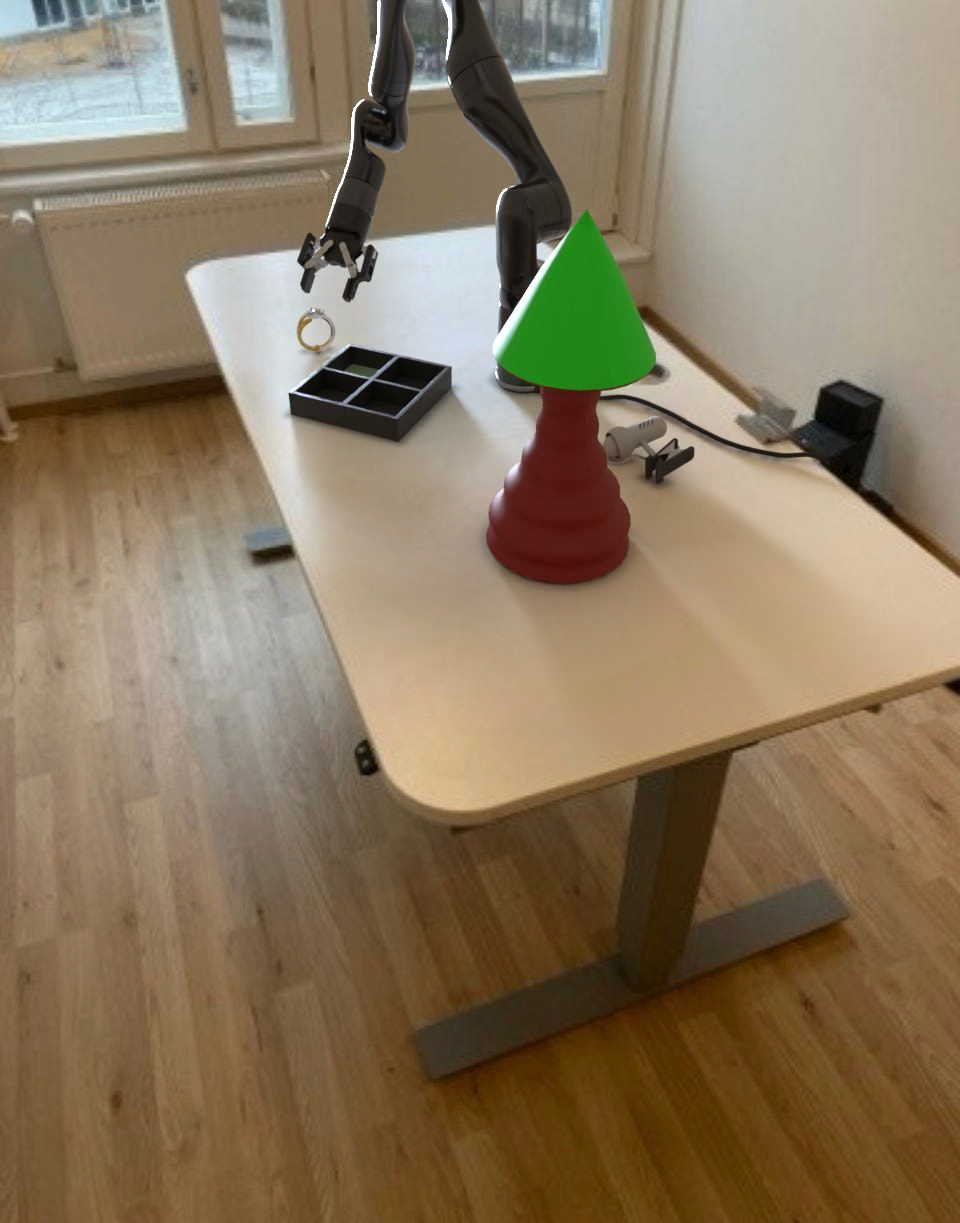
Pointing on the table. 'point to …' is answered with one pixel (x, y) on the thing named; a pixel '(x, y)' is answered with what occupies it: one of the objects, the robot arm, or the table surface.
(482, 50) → the robot arm
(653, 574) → the table surface
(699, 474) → the table surface
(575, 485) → the table lamp
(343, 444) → the table surface
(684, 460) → the clip-on lamp
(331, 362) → the organizer
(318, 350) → the ring
